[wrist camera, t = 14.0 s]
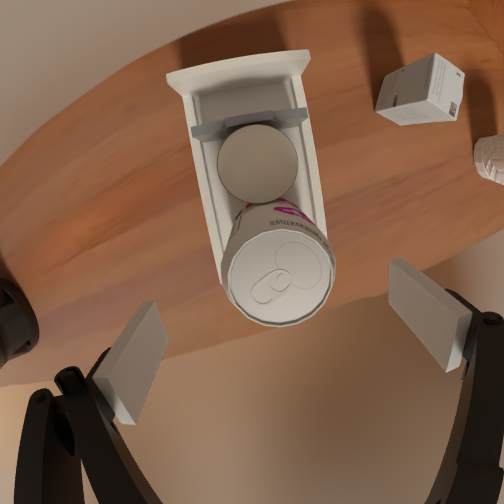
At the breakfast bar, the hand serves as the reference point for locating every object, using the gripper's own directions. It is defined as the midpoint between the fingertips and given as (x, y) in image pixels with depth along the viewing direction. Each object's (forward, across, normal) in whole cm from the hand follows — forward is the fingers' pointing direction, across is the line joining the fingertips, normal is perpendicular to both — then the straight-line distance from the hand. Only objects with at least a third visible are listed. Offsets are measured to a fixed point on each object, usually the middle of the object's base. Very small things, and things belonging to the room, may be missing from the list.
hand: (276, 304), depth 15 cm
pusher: (+19, +1, +11) cm, 22 cm away
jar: (+19, +1, +7) cm, 21 cm away
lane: (+21, 0, +6) cm, 21 cm away
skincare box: (+21, +20, +13) cm, 32 cm away
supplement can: (+19, +1, 0) cm, 19 cm away
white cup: (+21, +36, +5) cm, 42 cm away
